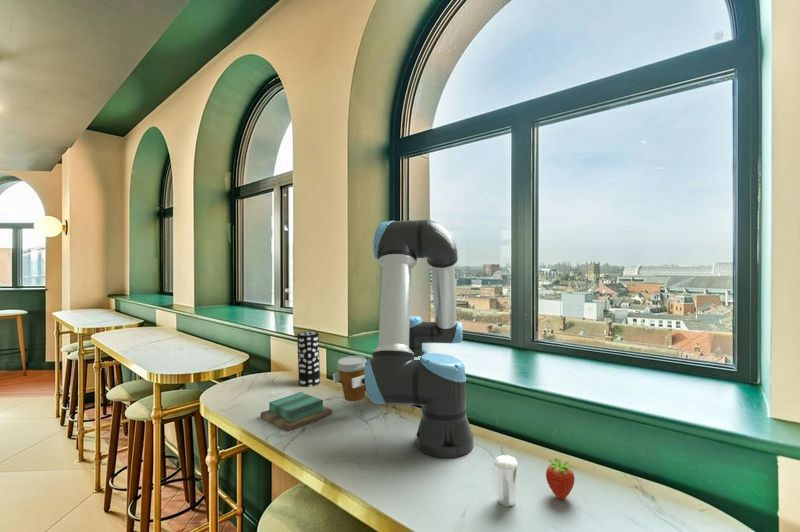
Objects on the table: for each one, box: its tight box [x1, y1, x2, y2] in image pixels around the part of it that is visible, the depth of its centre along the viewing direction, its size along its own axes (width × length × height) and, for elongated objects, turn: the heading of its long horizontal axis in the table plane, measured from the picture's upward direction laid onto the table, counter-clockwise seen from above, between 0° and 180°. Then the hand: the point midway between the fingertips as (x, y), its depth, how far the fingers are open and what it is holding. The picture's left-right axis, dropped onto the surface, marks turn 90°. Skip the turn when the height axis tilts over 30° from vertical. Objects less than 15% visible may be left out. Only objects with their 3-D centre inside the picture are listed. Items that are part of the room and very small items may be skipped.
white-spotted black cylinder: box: [296, 331, 321, 388], centre depth 162 cm, size 8×8×20 cm
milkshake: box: [494, 445, 519, 507], centre depth 83 cm, size 4×5×10 cm
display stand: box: [260, 391, 333, 432], centre depth 130 cm, size 16×16×5 cm
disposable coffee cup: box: [336, 355, 367, 402], centre depth 126 cm, size 10×10×12 cm
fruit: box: [545, 457, 575, 500], centre depth 83 cm, size 5×5×8 cm
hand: (343, 380), depth 123 cm, fingers closed on disposable coffee cup, 8 cm apart
